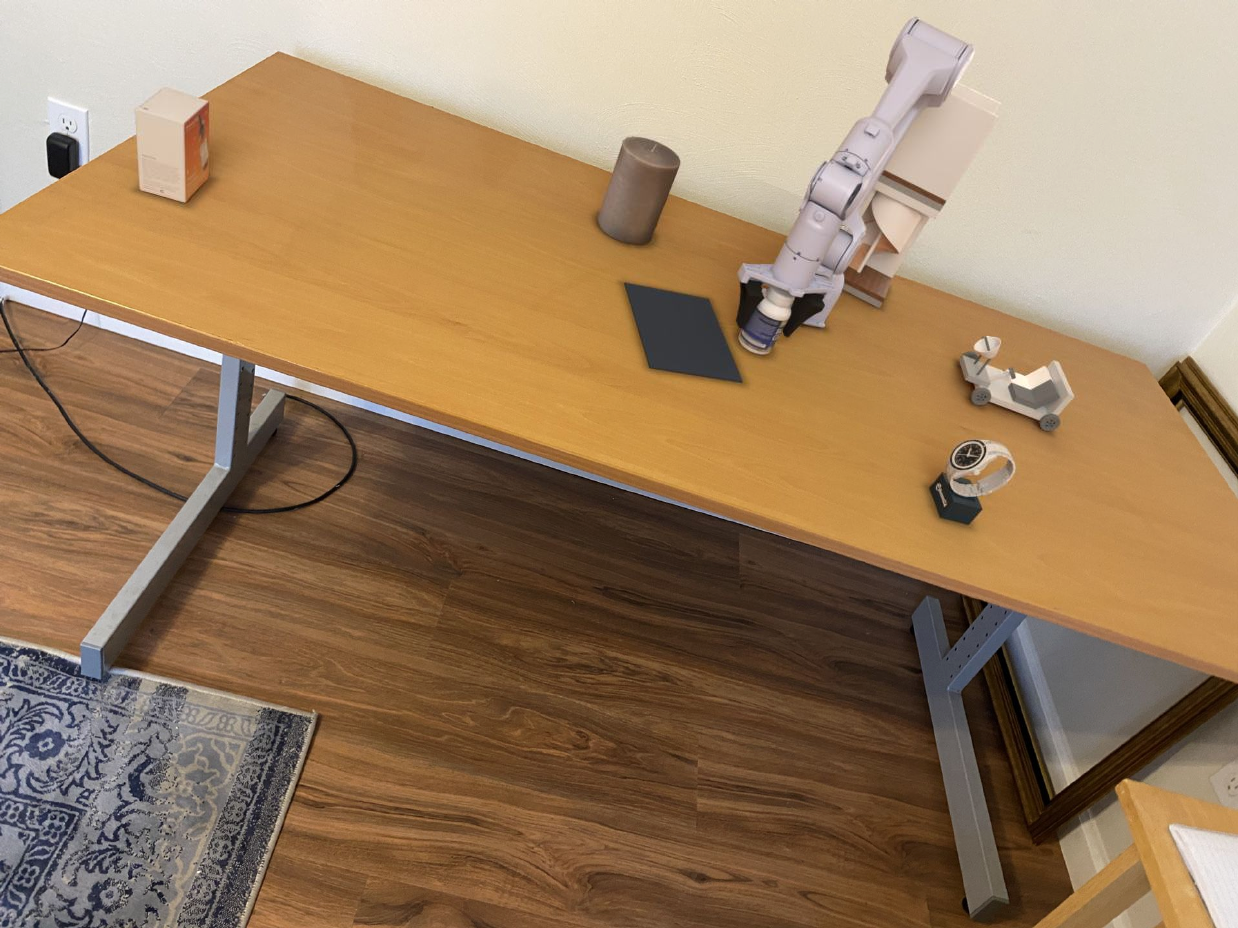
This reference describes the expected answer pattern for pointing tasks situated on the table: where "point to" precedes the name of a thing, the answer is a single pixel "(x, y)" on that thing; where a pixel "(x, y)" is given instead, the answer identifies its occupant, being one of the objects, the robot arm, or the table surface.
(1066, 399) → the toy car
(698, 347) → the felt mat
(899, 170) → the tall cream cabinet
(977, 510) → the watch
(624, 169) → the pillar candle
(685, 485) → the table surface
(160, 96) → the small box
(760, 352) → the pill bottle
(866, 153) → the robot arm
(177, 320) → the table surface
